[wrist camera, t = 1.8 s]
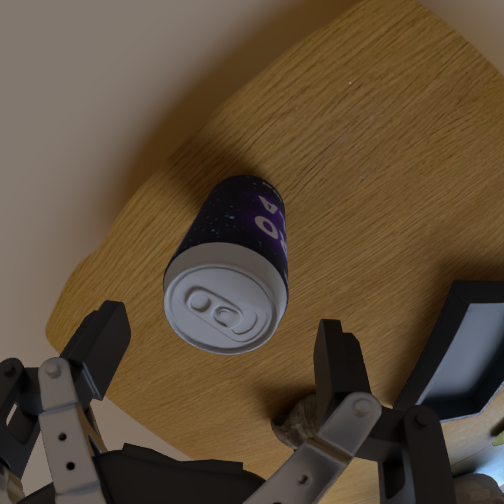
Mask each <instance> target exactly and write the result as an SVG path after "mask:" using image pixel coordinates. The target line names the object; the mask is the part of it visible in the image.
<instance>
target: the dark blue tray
mask: <svg viewBox="0 0 504 504" xmlns="http://www.w3.org/2000/svg"><path fill="white" fill-rule="evenodd" d="M503 385H504V282H487V281H457V280H454V282H453V285H452V287H451V290H450V292H449V295H448V297H447V300H446V302H445V305H444V307H443V309H442V312H441V314H440V316H439V319H438V321H437V323H436V325H435V328H434V330H433V332H432V334H431V336H430V338H429V340H428V343H427V345H426V347H425V349H424V351H423V353H422V355H421V357H420V359H419V361H418V363H417V365H416V366H415V368H414V370H413V372H412V374H411V376H410V378H409V379H408V381H407V383H406V385H405V387H404V388H403V390H402V392H401V394H400V395H399V397H398V399H397V400H396V402H395V404H394V405H393V409H394V410H399V411H404V412H406V411H407V409H408V408H410V407H411V406H414V405H426V406H428V407H430V408H432V409H433V410H434V411H435V412H436V413H437V415H438V417H439V420H440V423H443V422H449V421H454V420H459V419H464V418H469V417H473V416H478V415H480V414H481V413H482V412H483V411H484V410H485V408H486V407H487V406H488V405H489V404H490V402H491V401H492V400H493V398H494V397H495V396H496V395H497V393H498V392H499V391H500V389H501V388H502V387H503Z"/></svg>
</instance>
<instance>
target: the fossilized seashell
mask: <svg viewBox="0 0 504 504" xmlns="http://www.w3.org/2000/svg"><path fill="white" fill-rule="evenodd" d="M271 427H272V430H273V432H274V433H275V435H276V437H277V438H278V439H279V440H280V441H281V442H282V443H284V444H285V445H287V446H289V447H290V448H292V449H294V452H295V451H296V450H297V449H298V448H299V447H300V446H301V445H302V444H303V443H304V441H305V440H307V439H308V438H309V437H313V436H314V435H315V434H316V433H317V432H318V430H319V429H320V428H319V422H318V408H317V395H316V394H312V395H309V396H306V397H304V398H303V399H301V400H300V401H299V402H297V403H296V404H295V406H294V407H293V409H292V410H291V411H290V412H289V414H288V415H282V416H278V417H275V418H273V419H272V420H271Z"/></svg>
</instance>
